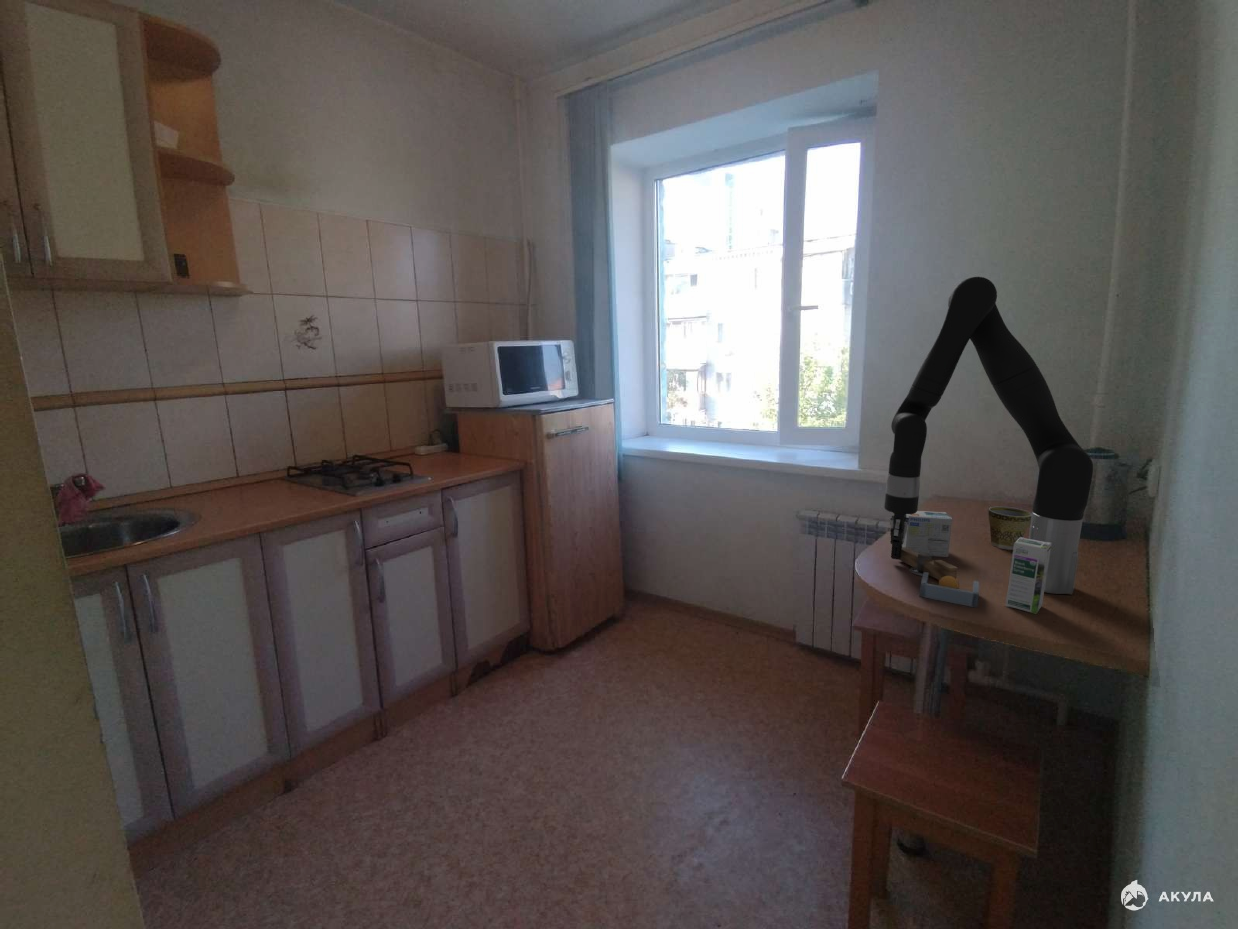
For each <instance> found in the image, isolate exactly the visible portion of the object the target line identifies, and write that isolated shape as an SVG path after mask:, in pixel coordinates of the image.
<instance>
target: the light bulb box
mask: <svg viewBox="0 0 1238 929" xmlns="http://www.w3.org/2000/svg"><path fill="white" fill-rule="evenodd" d="M906 517H907V518H909V523H908V525H907V532H906V535H905V538H904V540H903V541H904V543H903V545H902V547H906V548H908V549H910V550H912V551H914V552H916V553H918V554H919V553H926V554H929V555H931V556H932V557H939V558H940V557H941V558H948V557H949V555H950V543H951V535H952V527H953V526H952V523H953V518H952V516H950V515H949V514H948V513H947V512H945V511H925V510H917V512H916V513H914V514H906Z"/></svg>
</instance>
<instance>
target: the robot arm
mask: <svg viewBox="0 0 1238 929" xmlns="http://www.w3.org/2000/svg"><path fill="white" fill-rule="evenodd" d="M997 298H998V292H997V288H996V286H995V284H994V283H993V282H992V281H991V280H990V279H988V278H986V277H984V276H971V277H969V278H965V279H964V280H962V281H960V282H959V283H957V285H956V286H955V287H953V289H952V291H951V292H950V295H949V296H948V302H947V306H948V308H947V312H946V315H945V319H944V322H943V324H942V326H941V328H940V331H939V333H938V336H937V338H936V340H935V341H934V343H933V345H932V347H931V349H930V350H929V351H928V354H927V355H926V357H925V359H924V361H923V363H922V364H921V366H920V368H919V370H918V371H917V374H916V376H915V378H914V379H913V382H912V384H911V386H910V388H909V391H908V394H907V395H906V397H905V398H904V400H903V401H902V403H901V404H900V406H899V407H898V409H897V411H896V413H895V414H894V416H893V418H892V420H891V426H890V428H891V431H892V433H893V435H894V436H893V437H894V438H893V439H894V440H893V451H892V453H891V454H890V457H889V462H888V463H889V465H888V466H889V467H888V475H887V479H886V485H885V486H886V487H885V497H884V510H886V512H889V513H893V515H891V517H890V518H889V519H890V520H889V525H890V530H889V531H890V532H889V536H890V544H891V552H890V553H891V554H890V558H891V559H893V560H898V561H900V560H899V559H900V558H901V553H902V545H903V543H904V541H903V540H904V538H905V535H906V532H907V525H908V523H909V518H907V517H906V514H914V513H916V512H917V511H919V510H918V509H919V500H920V499H919V498H920V488H921V479H920V478H921V468H922V456H923V453H924V452H923V451H924V448H925V446H926V440H927V436H928V435H927V434H928V426H927V422H926V420H927V417H928V416H929V414H930V413H931V411H932V409H933V408H934V407H935V406H937V405H938V403H939V402H940V401H941V399H942V397H943V395H944V393H945V391H946V389H947V387H948V385H949V383H950V381H951V378H952V376H954V375H953V374H954V372H955V370H956V367H957V365H958V363H959V360H960V359H961V356H962V354H963V352H964V350H965V348H966V346H967V345H968V343H969V342H970V341H971V343H972V344H973V346H974V348H975V351H976V352H977V356H978V358H979V360H980V363H981V365H982V367H983V370H984V372H985V374H986V376H987V378H988V380H989V382H990V384H991V386H992V388H993V389H994V392H995V394H996V395H997V397H998V398H999V400H1000V402H1001V403H1002V405H1003V406H1004V408H1005V409H1006V411H1007V412H1008V413H1009V415H1010V416H1011V418H1013V420H1014V421H1015V422H1016V423H1017V425H1018V426H1019V427H1020V428H1021V430H1022V431H1023V433H1024V435H1025V436H1026V438H1027V440H1028V442H1029V445H1030V446H1031V449H1032V452H1033V454H1034V457H1035V460H1036V462H1037V467H1038V470H1039V471H1038V478H1037V485H1036V489H1035V490H1036V491H1035V496H1034V499H1033V502H1032V510H1031V514H1032V515H1031V520H1030V522H1029V529H1028V530H1029V531H1028V537H1027V539H1032V540H1037V541H1042V542H1049V543H1051V551H1050V557H1049V563H1048V570H1047V576H1046V583H1045V589H1044V593H1047V594H1055V595H1057V594H1058V595H1064V594H1066V595H1073V593H1074V587H1075V581H1076V574H1077V570H1078V569H1077V568H1078V563H1079V556H1080V555H1079V554H1080V553H1079V551H1078V549H1079V544H1080V538H1081V531H1082V526H1083V521H1084V520H1083V519H1084V513H1085V510H1086V508H1087V506H1088V501H1089V497H1090V496H1089V495H1090V492H1091V491H1090V490H1091V485H1092V480H1093V474H1094V463H1093V460H1092V458H1091V456H1090V455H1089V454H1088V453H1087V452H1086V451H1085V450H1084V448H1082V447H1081V445H1080V444H1079V443H1078V441H1076V439H1075V437H1073V435H1072V434H1071V433H1070V431H1069V430H1068V428H1067V427H1066V426H1065V424H1064V422H1063V420H1062V419H1061V417H1060V414H1059V411H1058V409H1057V407H1056V403H1055V401H1054V397H1053V395H1052V392H1051V390H1050V387H1049V385H1048V383H1047V381H1046V379H1045V377H1044V375H1043V374H1042V371H1040V368H1039V367H1038V365H1037V363H1036V361H1035V360H1034V359H1033V357H1032V356H1031V354H1030V353H1029V352H1028V351H1027V349H1026V348H1025V347H1024V346H1023V345H1022V344H1021V343H1020V342H1019V340H1017V338H1016V337H1015V336H1014V335H1013V333H1012V332H1010V330H1009V329H1008V327H1007V325H1006V323H1005V321H1004V320H1003V318H1002V315H1001V313H1000V311H999V308H998V306H997V304H996V302H997Z"/></svg>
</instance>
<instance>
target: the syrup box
mask: <svg viewBox="0 0 1238 929" xmlns="http://www.w3.org/2000/svg"><path fill="white" fill-rule="evenodd" d="M1050 551H1051V543H1049V542H1042V541H1037V540H1032V539H1028V537H1027V538H1025V537H1024V536H1023V537H1020V538H1019V539H1018V540H1017V541H1016V542H1015V543H1014V548H1013V550H1012V555H1011V556H1012V557H1011V564H1010V573H1009V579H1008V581H1009V582H1008V588H1007V593H1006V598H1005V607H1007V608H1014V609H1017V610H1020V611H1024V612H1028V613H1031V614H1034V615H1037V614H1038V613H1039V611H1040V609H1041V607H1042V606H1043V601H1044V594H1045V592H1044V589H1045V583H1046V576H1047V570H1048V563H1049V557H1050Z"/></svg>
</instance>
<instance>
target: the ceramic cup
mask: <svg viewBox="0 0 1238 929" xmlns="http://www.w3.org/2000/svg"><path fill="white" fill-rule="evenodd" d="M987 509H988V510H987V512H988V513H987V514H988V523H989V532H990V544H991V546H994V547H995V548H998V549H1002V550H1008V551H1013V548H1014V543H1015V542H1016V541H1017V540H1018V539H1019V538H1020V537H1023V538H1024V536H1025V533H1026V530H1027V529H1028V528H1029V526H1030V522H1031V515H1032V512H1030V511H1029V510H1025V509H1021V508H1017V507H1013V506H1012V507H1010V506H1000V505H999V506H991V507H988V508H987Z"/></svg>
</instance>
